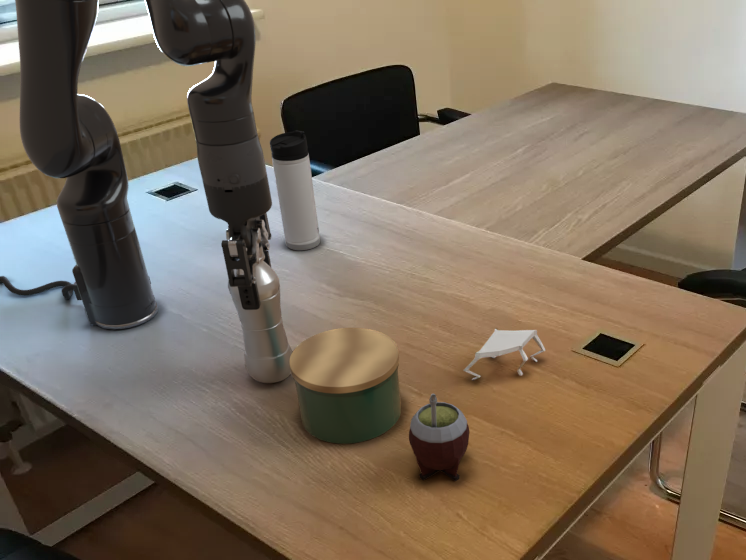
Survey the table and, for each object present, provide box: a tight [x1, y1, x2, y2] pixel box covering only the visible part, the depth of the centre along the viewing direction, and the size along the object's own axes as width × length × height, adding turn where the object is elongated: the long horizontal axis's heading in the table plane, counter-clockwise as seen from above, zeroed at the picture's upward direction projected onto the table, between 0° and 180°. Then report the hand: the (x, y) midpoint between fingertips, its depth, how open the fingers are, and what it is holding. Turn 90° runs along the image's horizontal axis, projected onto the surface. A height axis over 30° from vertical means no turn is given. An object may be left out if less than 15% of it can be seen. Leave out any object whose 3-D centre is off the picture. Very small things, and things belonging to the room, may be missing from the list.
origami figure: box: [462, 328, 546, 381], centre depth 113 cm, size 12×8×5 cm
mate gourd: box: [408, 393, 470, 482], centre depth 93 cm, size 8×8×15 cm
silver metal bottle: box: [227, 243, 293, 384], centre depth 108 cm, size 6×7×20 cm
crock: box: [289, 327, 402, 445], centre depth 104 cm, size 14×14×9 cm
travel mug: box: [269, 129, 321, 251], centre depth 143 cm, size 6×7×20 cm
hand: (258, 292), depth 106 cm, fingers open, 8 cm apart
